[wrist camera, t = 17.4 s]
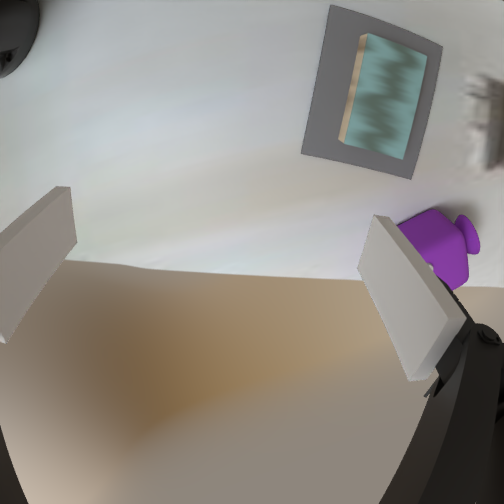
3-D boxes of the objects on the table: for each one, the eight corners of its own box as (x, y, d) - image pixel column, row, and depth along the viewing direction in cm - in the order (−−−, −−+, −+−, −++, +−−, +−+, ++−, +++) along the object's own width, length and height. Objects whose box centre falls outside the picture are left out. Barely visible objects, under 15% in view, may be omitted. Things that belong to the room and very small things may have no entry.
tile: (344, 143, 35) (368, 33, 28) (337, 139, 38) (360, 35, 31) (402, 159, 36) (427, 56, 29) (393, 153, 39) (416, 56, 32)
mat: (300, 153, 39) (301, 154, 39) (330, 5, 29) (331, 4, 29) (409, 178, 41) (411, 179, 40) (440, 46, 31) (442, 46, 30)
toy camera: (465, 234, 45) (498, 266, 36) (402, 281, 49) (426, 320, 41) (444, 184, 41) (482, 211, 32) (374, 236, 45) (399, 274, 37)
